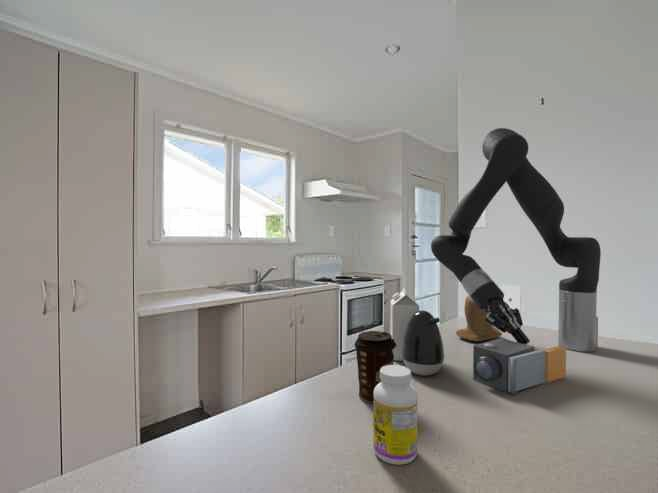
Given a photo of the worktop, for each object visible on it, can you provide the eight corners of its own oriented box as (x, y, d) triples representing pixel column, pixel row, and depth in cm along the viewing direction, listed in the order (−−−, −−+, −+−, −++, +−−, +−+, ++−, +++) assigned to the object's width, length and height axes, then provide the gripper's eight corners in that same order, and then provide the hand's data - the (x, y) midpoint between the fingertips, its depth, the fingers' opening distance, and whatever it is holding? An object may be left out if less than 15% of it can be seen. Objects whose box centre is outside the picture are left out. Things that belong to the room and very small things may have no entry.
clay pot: (480, 347, 105) (480, 298, 105) (450, 337, 115) (450, 292, 115) (513, 340, 112) (513, 294, 111) (482, 331, 122) (482, 289, 122)
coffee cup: (399, 391, 74) (399, 331, 74) (393, 409, 66) (393, 342, 66) (359, 386, 77) (359, 328, 77) (349, 402, 69) (349, 338, 69)
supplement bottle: (369, 441, 56) (369, 362, 56) (409, 439, 57) (409, 361, 56) (378, 468, 49) (378, 379, 49) (423, 466, 50) (424, 378, 50)
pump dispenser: (421, 383, 78) (422, 317, 78) (393, 368, 88) (393, 308, 87) (454, 375, 83) (454, 312, 83) (423, 361, 92) (424, 305, 92)
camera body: (500, 369, 87) (500, 336, 86) (533, 381, 80) (534, 344, 80) (465, 382, 79) (466, 345, 79) (498, 395, 72) (499, 355, 72)
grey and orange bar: (559, 375, 82) (559, 345, 82) (566, 377, 81) (567, 347, 81) (506, 391, 74) (507, 357, 73) (514, 394, 72) (514, 360, 72)
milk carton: (415, 353, 99) (415, 287, 99) (419, 361, 92) (419, 291, 92) (390, 352, 100) (390, 286, 100) (392, 360, 93) (392, 290, 93)
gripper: (487, 295, 102) (529, 347, 92) (458, 299, 95) (500, 356, 85) (504, 279, 98) (550, 332, 87) (475, 281, 91) (521, 340, 80)
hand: (525, 344), depth 86 cm, fingers closed
